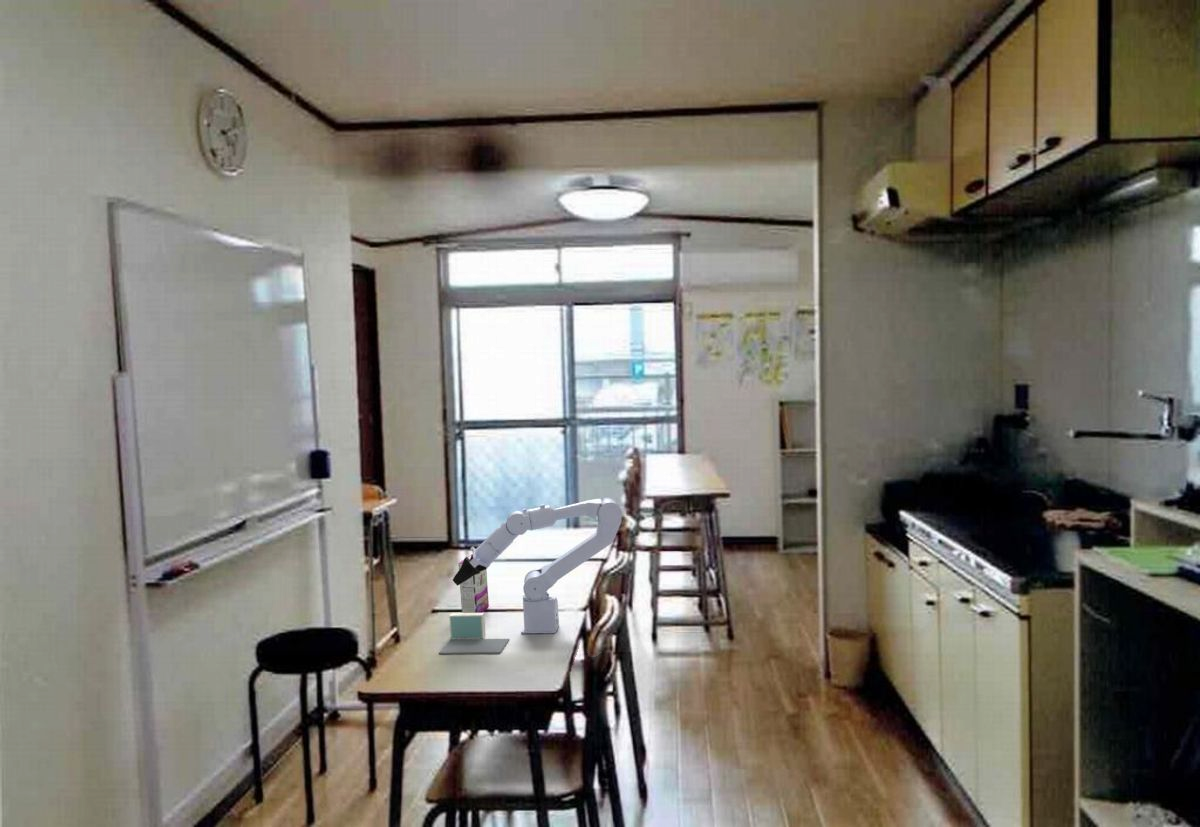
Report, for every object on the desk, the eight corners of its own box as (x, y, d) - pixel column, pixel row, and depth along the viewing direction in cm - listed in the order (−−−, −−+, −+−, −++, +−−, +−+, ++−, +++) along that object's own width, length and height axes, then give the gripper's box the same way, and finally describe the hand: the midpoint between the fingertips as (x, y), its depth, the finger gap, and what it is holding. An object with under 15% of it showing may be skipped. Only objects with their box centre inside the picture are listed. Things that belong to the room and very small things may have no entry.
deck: (485, 635, 239) (484, 612, 238) (483, 638, 236) (482, 615, 236) (453, 636, 240) (451, 613, 239) (450, 639, 237) (449, 615, 237)
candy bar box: (473, 607, 268) (470, 553, 267) (489, 607, 267) (486, 553, 266) (460, 617, 257) (457, 562, 256) (476, 617, 256) (474, 562, 255)
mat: (509, 640, 234) (509, 638, 234) (500, 653, 223) (500, 652, 223) (450, 640, 236) (450, 639, 236) (438, 654, 225) (438, 652, 225)
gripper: (488, 533, 248) (454, 567, 248) (478, 537, 233) (441, 573, 233) (505, 551, 247) (471, 585, 247) (496, 556, 233) (460, 592, 233)
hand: (458, 581), depth 240 cm, fingers open, 7 cm apart
